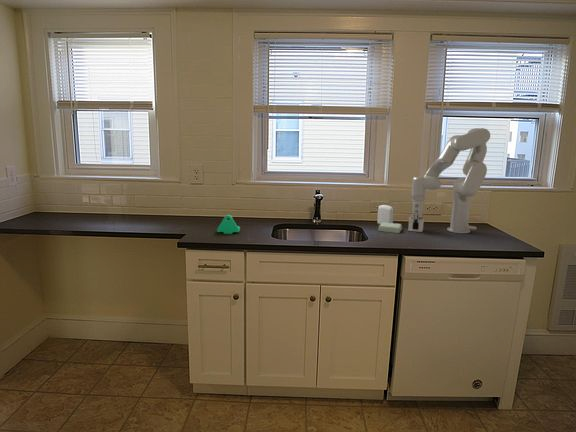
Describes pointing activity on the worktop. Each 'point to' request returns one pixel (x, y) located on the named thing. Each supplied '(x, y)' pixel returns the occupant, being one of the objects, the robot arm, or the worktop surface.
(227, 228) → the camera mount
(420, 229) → the housing
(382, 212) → the photo printer
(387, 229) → the stand
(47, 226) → the worktop surface
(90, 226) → the worktop surface
